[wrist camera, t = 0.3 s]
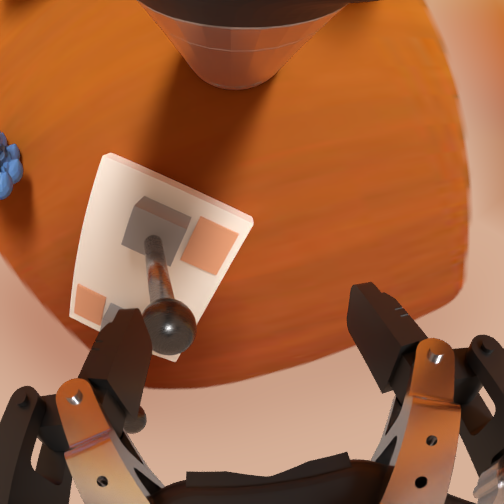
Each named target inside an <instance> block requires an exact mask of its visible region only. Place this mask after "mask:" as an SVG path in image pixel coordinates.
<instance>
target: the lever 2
mask: <svg viewBox="0 0 504 504" xmlns="http://www.w3.org/2000/svg"><path fill="white" fill-rule="evenodd" d="M144 253H145V263H146V272H147V280H148V288H149V296H150V304H149V305H148V306H147V307H146V308H145V309H144V311H143V312H142V316H143V319H144V322H145V325H146V327H147V330H148V333H149V335H150V338H151V342H152V350H153V351H155V352H157V353H159V354H162V355H176V354H179V353H182V352H184V351H185V350H186V349H188V348H189V347H190V345H191V344H192V343H193V341H194V339H195V336H196V331H197V325H196V320H195V317H194V315H193V313H192V311H191V310H190V309H189V307H188V306H187V305H185V304H184V303H183V302H181V301H179V300H176V299H175V298H174V294H173V290H172V286H171V281H170V277H169V272H168V267H167V263H166V258H165V253H164V248H163V243H162V239H161V238H160V237H159V236H156V235H151V236H148V237H147V238H146V239H145V241H144Z"/></svg>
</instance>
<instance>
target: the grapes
mask: <svg viewBox="0 0 504 504" xmlns="http://www.w3.org/2000/svg"><path fill="white" fill-rule="evenodd" d="M19 159H20V152H19V149H18V147H17V145H16V144H12V145H9V146H7V139H6V137H5V135H4V134H3V133H1V132H0V200H2V199H5V198H6V197H8V196H9V195H10V193H11V192H12V189H13V184H15V183H17V182H19V181H20V179H21V178H22V176H23V167H22V164H21V162H20V161H19Z"/></svg>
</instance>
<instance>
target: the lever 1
mask: <svg viewBox="0 0 504 504" xmlns="http://www.w3.org/2000/svg"><path fill="white" fill-rule="evenodd" d="M145 425H146V414H145V412H144V410H143V409H142V407H141V406H139V411H138V416H137V421H136V422H132V421H125V423H124V429H125V431H126V432H127V433H130V434H133V433H138V432H140V431H141V430H142V429H143V428H144V427H145Z"/></svg>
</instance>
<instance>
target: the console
mask: <svg viewBox="0 0 504 504" xmlns="http://www.w3.org/2000/svg"><path fill="white" fill-rule="evenodd" d="M253 224H254V223H253V219H252V217H251V216H249V215H247V214H245V213H243V212H241V211H239V210H237V209H235V208H233V207H231V206H229V205H226V204H224V203H222V202H220V201H218V200H216V199H214V198H212V197H209V196H207V195H205V194H203V193H201V192H199V191H197V190H194V189H192V188H190V187H188V186H186V185H184V184H181V183H179V182H177V181H175V180H173V179H170V178H168V177H166V176H164V175H162V174H159V173H157V172H155V171H153V170H150V169H148V168H146V167H143V166H141V165H139V164H137V163H134V162H132V161H130V160H127V159H125V158H123V157H120V156H118V155H116V154H113V153H108V154H105V155H103V157H102V159H101V162H100V165H99V168H98V171H97V175H96V178H95V181H94V184H93V188H92V191H91V195H90V199H89V202H88V206H87V210H86V214H85V218H84V223H83V227H82V232H81V236H80V241H79V246H78V252H77V258H76V264H75V270H74V277H73V285H72V293H71V303H70V315H69V317H71V318H73V319H75V320H77V321H79V322H81V323H83V324H85V325H87V326H89V327H91V328H93V329H95V330H97V331H99V332H100V330H101V329H103V328H104V327H105V326H106V325H107V324H108V323H109V322H113V320H114V318H115V316H116V314H117V312H118V310H119V309H130V308H138V309H139V310H140V311H141V314H142V312H143V311H144V309H145V308H146V307H147V306H148V305H149V304H150V296H149V288H148V280H147V272H146V263H145V253H144V241H145V239H146V238H147V237H148V236H151V235H156V236H159V237H160V238H161V239H162V243H163V248H164V253H165V258H166V263H167V267H168V272H169V277H170V281H171V286H172V290H173V294H174V298H175V299H176V300H179V301H181V302H183V303H184V304H185V305H187V306H188V307H189V309H190V310H191V311H192V313H193V315H194V317H195V320H196V325H197V323H198V321H199V320H200V318H201V316H202V314H203V312H204V311H205V309H206V307H207V305H208V303H209V302H210V300H211V298H212V296H213V295H214V293H215V291H216V289H217V287H218V286H219V284H220V282H221V280H222V279H223V277H224V275H225V273H226V272H227V270H228V268H229V266H230V264H231V263H232V261H233V259H234V257H235V256H236V254H237V252H238V250H239V249H240V247H241V245H242V243H243V242H244V240H245V238H246V236H247V235H248V233H249V231H250V229H251V228H252V226H253ZM152 354H154V355H156V356H159V357H162V358H164V359H167V360H170V361H173V362H176V361H177V359H178V357H179V356H180V354H181V353H179V354H176V355H162V354H159V353H157V352H155V351H153V350H152Z"/></svg>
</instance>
